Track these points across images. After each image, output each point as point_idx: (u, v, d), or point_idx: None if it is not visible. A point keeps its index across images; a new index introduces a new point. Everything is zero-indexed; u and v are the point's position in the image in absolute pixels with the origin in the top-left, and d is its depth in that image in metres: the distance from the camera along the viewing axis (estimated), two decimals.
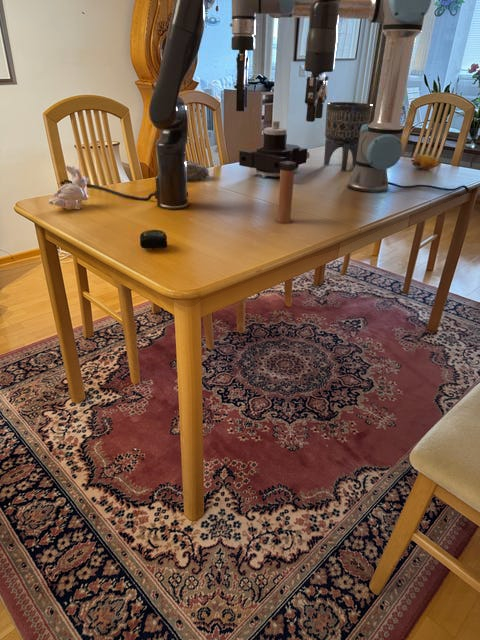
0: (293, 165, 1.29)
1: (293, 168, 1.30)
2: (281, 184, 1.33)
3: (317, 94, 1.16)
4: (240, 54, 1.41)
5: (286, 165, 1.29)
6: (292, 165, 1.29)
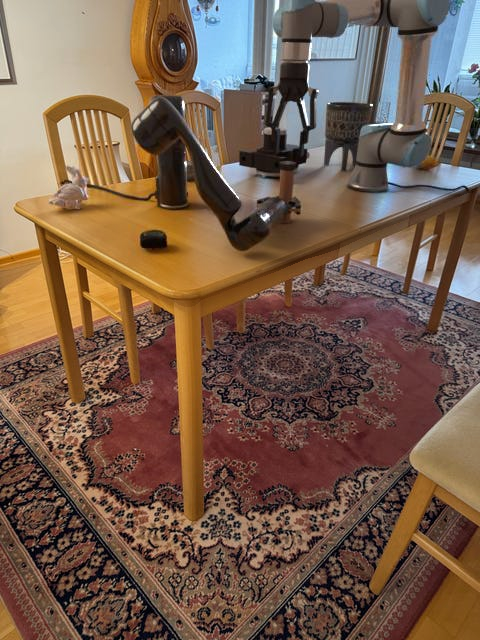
0: (293, 165, 1.29)
1: (293, 168, 1.30)
2: (281, 184, 1.33)
3: None
4: None
5: (286, 165, 1.29)
6: (292, 165, 1.29)
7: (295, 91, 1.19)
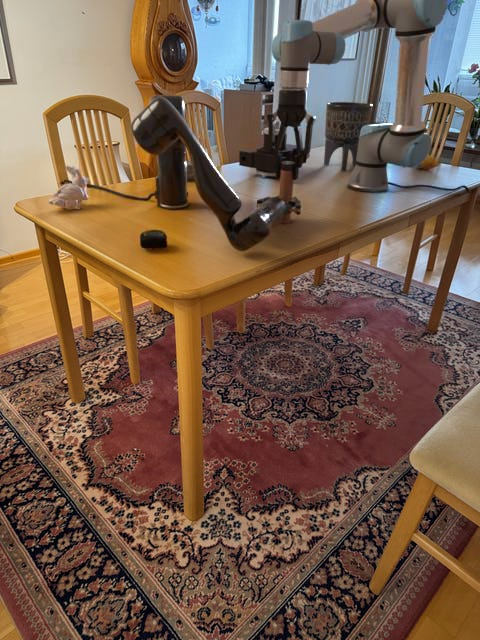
0: (293, 165, 1.29)
1: (293, 168, 1.30)
2: (281, 184, 1.33)
3: None
4: None
5: (286, 165, 1.29)
6: (292, 165, 1.29)
7: (293, 117, 1.23)
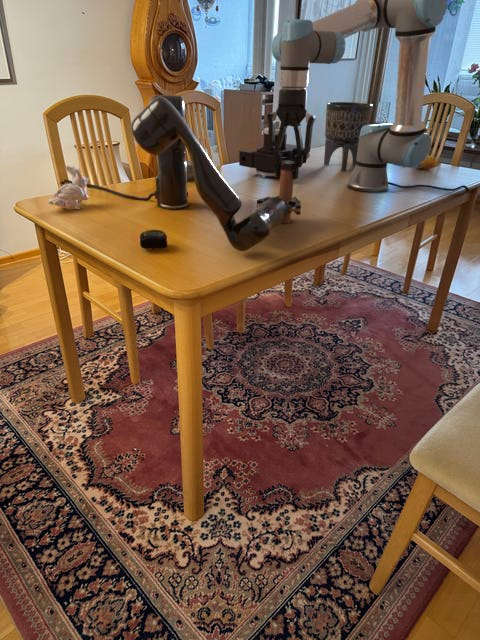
0: None
1: None
2: (281, 184, 1.33)
3: None
4: None
5: None
6: None
7: (293, 116, 1.23)
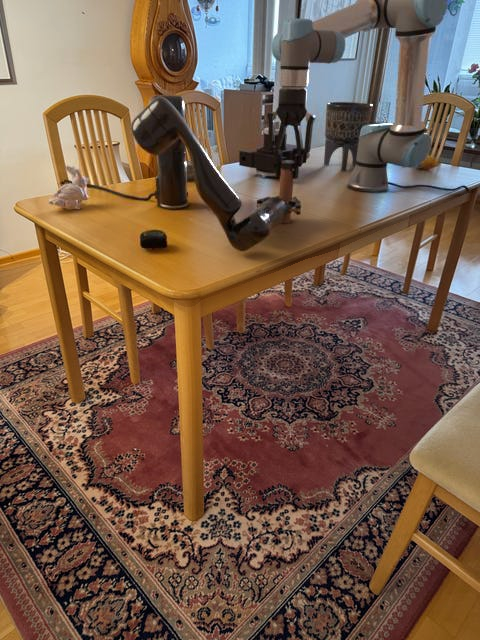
0: None
1: None
2: (281, 184, 1.33)
3: None
4: None
5: None
6: None
7: (293, 116, 1.22)
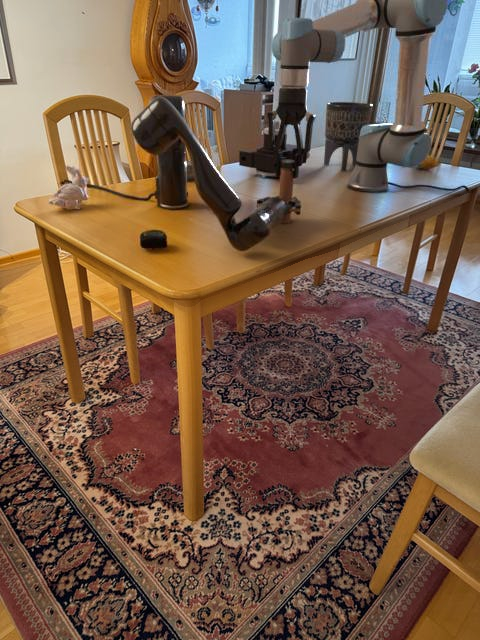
0: (280, 162, 1.30)
1: (280, 166, 1.31)
2: (281, 184, 1.33)
3: None
4: None
5: None
6: (280, 162, 1.30)
7: (293, 115, 1.22)
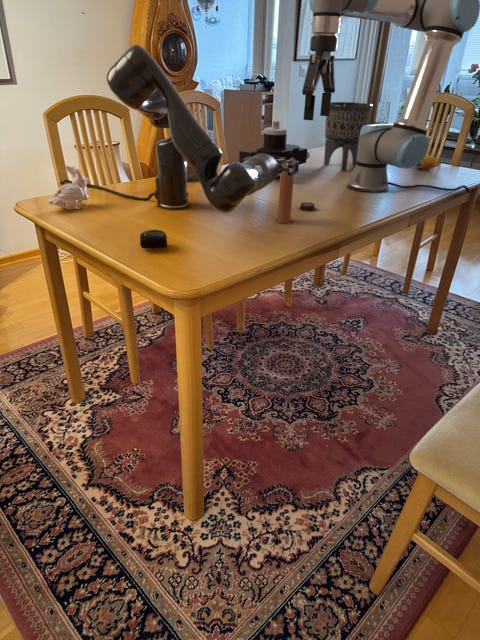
0: None
1: (314, 207, 1.51)
2: (281, 184, 1.33)
3: None
4: (312, 56, 1.24)
5: (312, 206, 1.49)
6: None
7: (329, 62, 1.30)
